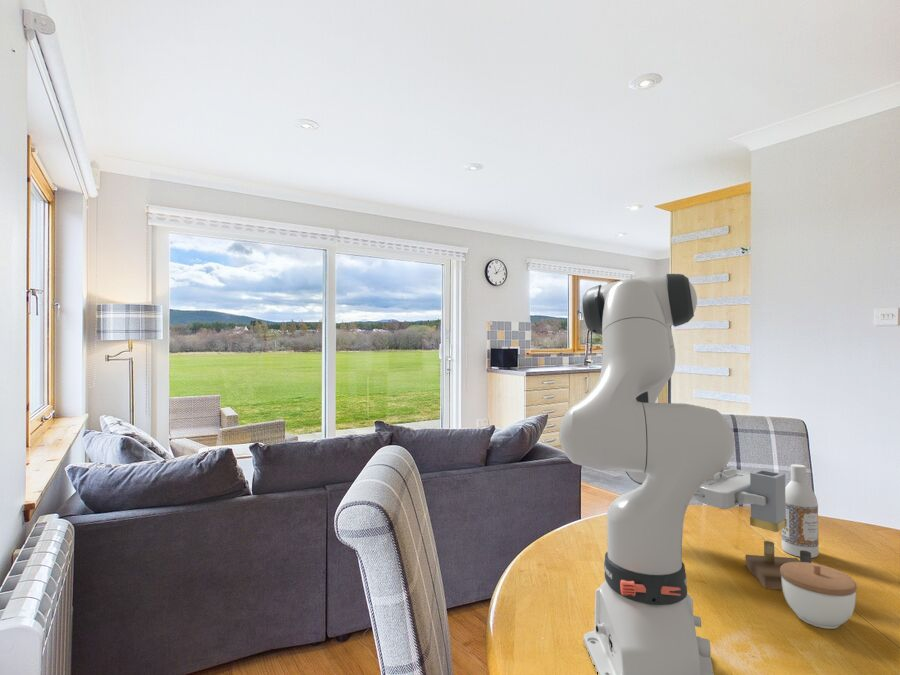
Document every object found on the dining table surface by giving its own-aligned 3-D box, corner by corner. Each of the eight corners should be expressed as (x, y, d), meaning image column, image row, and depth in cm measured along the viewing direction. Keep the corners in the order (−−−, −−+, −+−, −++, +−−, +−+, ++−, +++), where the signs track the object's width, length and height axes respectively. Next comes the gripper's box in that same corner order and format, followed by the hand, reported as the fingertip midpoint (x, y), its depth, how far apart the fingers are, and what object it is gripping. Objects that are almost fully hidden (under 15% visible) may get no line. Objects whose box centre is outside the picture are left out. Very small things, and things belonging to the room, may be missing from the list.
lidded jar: (784, 597, 94) (783, 547, 94) (857, 616, 87) (856, 563, 88) (777, 621, 86) (776, 567, 86) (857, 645, 79) (856, 586, 79)
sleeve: (776, 532, 101) (776, 478, 101) (750, 525, 105) (749, 472, 105) (786, 526, 103) (785, 474, 104) (760, 519, 108) (759, 469, 108)
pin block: (822, 593, 96) (822, 559, 96) (765, 588, 98) (764, 555, 98) (797, 569, 105) (796, 539, 105) (745, 566, 107) (745, 536, 107)
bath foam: (799, 559, 110) (797, 469, 111) (774, 547, 117) (773, 462, 117) (826, 557, 111) (825, 468, 112) (800, 545, 118) (799, 461, 118)
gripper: (682, 477, 108) (750, 492, 97) (726, 463, 120) (791, 475, 109) (682, 506, 108) (750, 524, 97) (726, 489, 120) (792, 503, 109)
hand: (772, 498), depth 103 cm, fingers closed on sleeve, 5 cm apart
